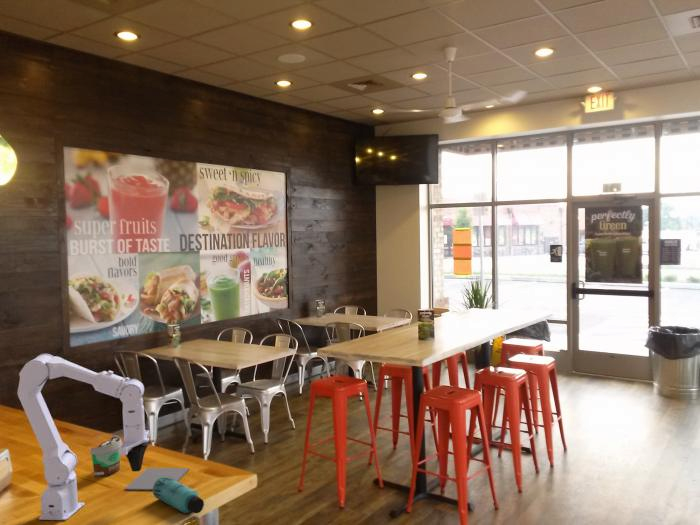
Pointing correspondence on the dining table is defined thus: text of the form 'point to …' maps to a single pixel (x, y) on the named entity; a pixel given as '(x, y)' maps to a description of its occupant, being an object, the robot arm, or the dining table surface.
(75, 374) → the robot arm
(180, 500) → the beverage bottle
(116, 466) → the food container
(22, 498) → the dining table surface
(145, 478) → the mat
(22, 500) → the dining table surface
